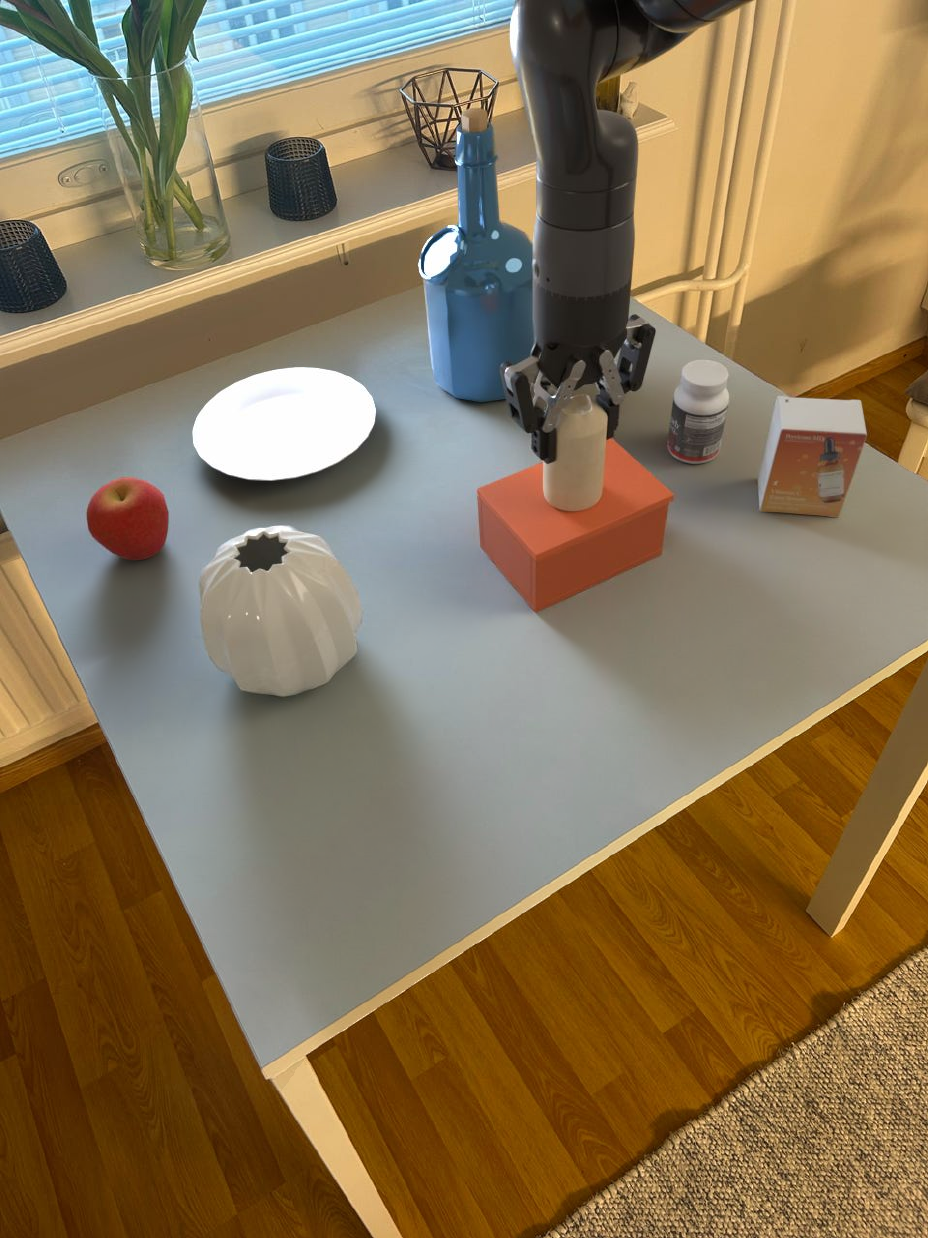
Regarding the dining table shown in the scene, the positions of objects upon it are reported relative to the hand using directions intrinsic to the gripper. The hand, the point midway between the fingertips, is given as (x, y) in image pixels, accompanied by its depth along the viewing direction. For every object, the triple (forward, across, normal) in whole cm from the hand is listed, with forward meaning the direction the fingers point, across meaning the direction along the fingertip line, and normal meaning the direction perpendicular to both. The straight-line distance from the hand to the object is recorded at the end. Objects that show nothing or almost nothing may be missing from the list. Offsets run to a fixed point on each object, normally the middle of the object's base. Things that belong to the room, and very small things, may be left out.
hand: (575, 445), depth 83 cm
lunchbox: (+13, 0, 0) cm, 13 cm away
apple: (+13, -37, +24) cm, 46 cm away
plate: (+13, -17, +33) cm, 40 cm away
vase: (+13, -29, +2) cm, 32 cm away
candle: (+6, 0, 0) cm, 6 cm away
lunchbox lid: (+6, 0, 0) cm, 6 cm away
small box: (+13, +24, -6) cm, 28 cm away
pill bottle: (+13, +20, +6) cm, 25 cm away
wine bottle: (+13, +8, +31) cm, 35 cm away
